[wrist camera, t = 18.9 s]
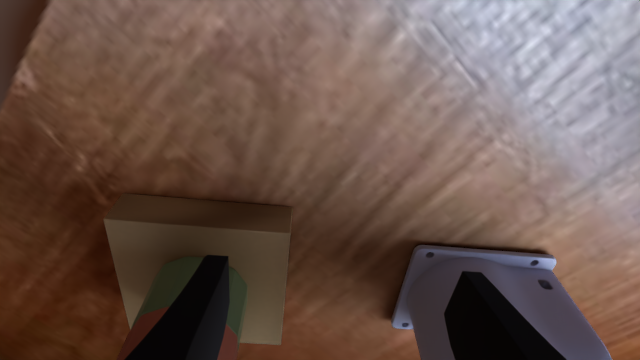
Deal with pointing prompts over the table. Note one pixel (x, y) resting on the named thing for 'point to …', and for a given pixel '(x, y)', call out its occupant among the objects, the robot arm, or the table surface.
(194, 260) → the green ring
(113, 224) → the birch block
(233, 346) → the coral ring
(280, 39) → the table surface
